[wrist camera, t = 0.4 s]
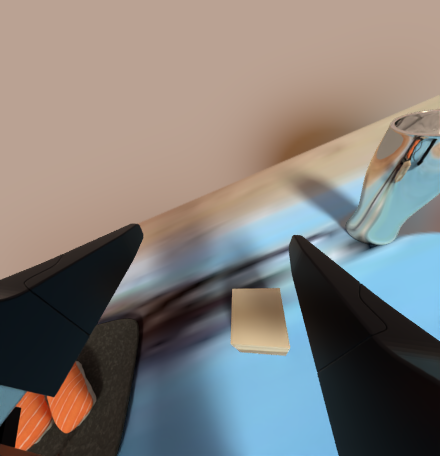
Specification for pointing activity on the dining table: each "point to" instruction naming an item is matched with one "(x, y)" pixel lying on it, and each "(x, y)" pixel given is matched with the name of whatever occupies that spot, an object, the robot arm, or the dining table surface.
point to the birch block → (259, 322)
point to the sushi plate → (85, 398)
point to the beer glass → (399, 178)
